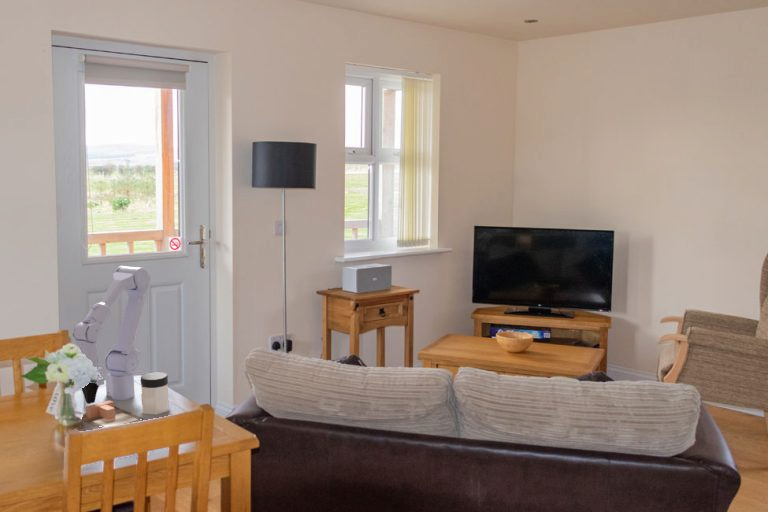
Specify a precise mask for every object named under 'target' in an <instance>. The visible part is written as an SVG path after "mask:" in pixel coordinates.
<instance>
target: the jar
mask: <svg viewBox="0 0 768 512" xmlns="http://www.w3.org/2000/svg"><path fill="white" fill-rule="evenodd" d="M168 378H169V376H168V373H166V372H162V371H161V372H159V371H155V372H153V371H152V372H148V373H144V374H143V375H141V376H140V386H141V394H140V395H141V405H142V414H147V415H160V414H162V413H167V412H169V411H170V408H169V407H170V405H169V402H170V401H169V400H170V399H169V384H168V383H169V379H168Z"/></svg>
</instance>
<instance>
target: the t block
mask: <svg viewBox="0 0 768 512" xmlns="http://www.w3.org/2000/svg"><path fill="white" fill-rule="evenodd" d="M114 406H115V403H114V401H112V400H106V401H101V402H98V403H94V404H91V405H90V404H89V405H87V406H85V411H86V416H87V417H89V418H92V417H96V416H101V417H103V418H105V419H107V420H109V419H112V418H115V408H114Z"/></svg>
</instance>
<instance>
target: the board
mask: <svg viewBox="0 0 768 512" xmlns="http://www.w3.org/2000/svg"><path fill="white" fill-rule="evenodd" d="M114 408H115V418H112V419H109V420H107V419H105V418H103V417H101V416H96V417H92V418H89V417H87V416H86V410H85V411H83V412H84V413H83V417H82V420H81V421H83V422H85V423H87V424H90V425H92V426H94V427H96V428H97V427H98V428H97V429H100V428H102V427H108V426H116V425H120V424H126V423H130V424H132V423H131V422H134V423H137V422H140V421H143V420H145V418H143V417H141V416H139V415H136V414H135V413H131V412H129V411H126V410H124V409H122V408H120V407H117V406H115V405H114ZM140 419H142V420H140ZM136 421H137V422H136ZM99 426H102V427H99Z"/></svg>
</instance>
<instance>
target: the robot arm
mask: <svg viewBox="0 0 768 512" xmlns="http://www.w3.org/2000/svg"><path fill="white" fill-rule="evenodd" d="M150 279H151V276H150V274H149V271H148V269H147V268H145V267H135V266H128V265H127V266H126V265H120V266H118V267H117V268H116V269H115V271H114V272H113V274H112V282H111V284H110V285H109V287H108V288H107V290H106V292H105V294H104V295H103V298H102V299H101V301H100V302H97V303H94V304H93V305H92V306H91V309H89V312H88V313H87V314H86V316H85V317H84V319H83V320H82V322H78V323H77V324H76V325H75V326H74V328H73V331H72V333H71V335H72V338H73V339H74V341H75V345H76V347H77V348H78V347H79V348H80V350H81V352H82V353H83V354H85V355H86V357H87V358H88V359H90V360H91V361H92V362H93V366H94V367H97V369H98V370H99V357H98V340H99V339H100V338H101V335H102V330H103V326H104V325H105V323H106V322H107V320H108V318H109V317H110V315H111V314H112V311H111V308H112V306H113V305H114V304H115V302H116V301H117V300H118V299H119V297H120V296H121V295H122V294H123V293H124V292H125V293H126V294H127V296H128V298H127V303H126V306H125V310H124V314H123V317H122V322H121V325H120V330H119V333H118V337H117V341H116V343H114V344H113V345H111V346H110V347H109V350H108V353H107V354H106V355H105V357H104V362H103V363H104V367H105V368H104V369H106V370H108V373H107V375H106V376H105V378H104V377H103V376H101V373H100V371H99V372H98V379H97V382H96V383H89V384H88V385H87V386H85V387H84V388H82V389H81V391H82V393H83V396H84V400H85V402H86V404H89V405H90V404H93V403H94V404H95V401H96V398H97V397H96V396H97V393H98V389H99V387H100V386H103V385H105V390H106V396H108V397H111V399H112V400H116V401H123V400H130V399H132V398H134V397H135V377H134V376H135V375H134V374H135V373H136V371H137V369H138V368H139V356H140V351H139V350H138V349H137V348H136V347H135V343H136V339H137V335H138V330H139V325H140V322H141V318H142V314H143V312H144V311H143V310H144V306H145V303H146V299H147V295H148V293H147V292H148V287H149V284H150Z"/></svg>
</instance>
